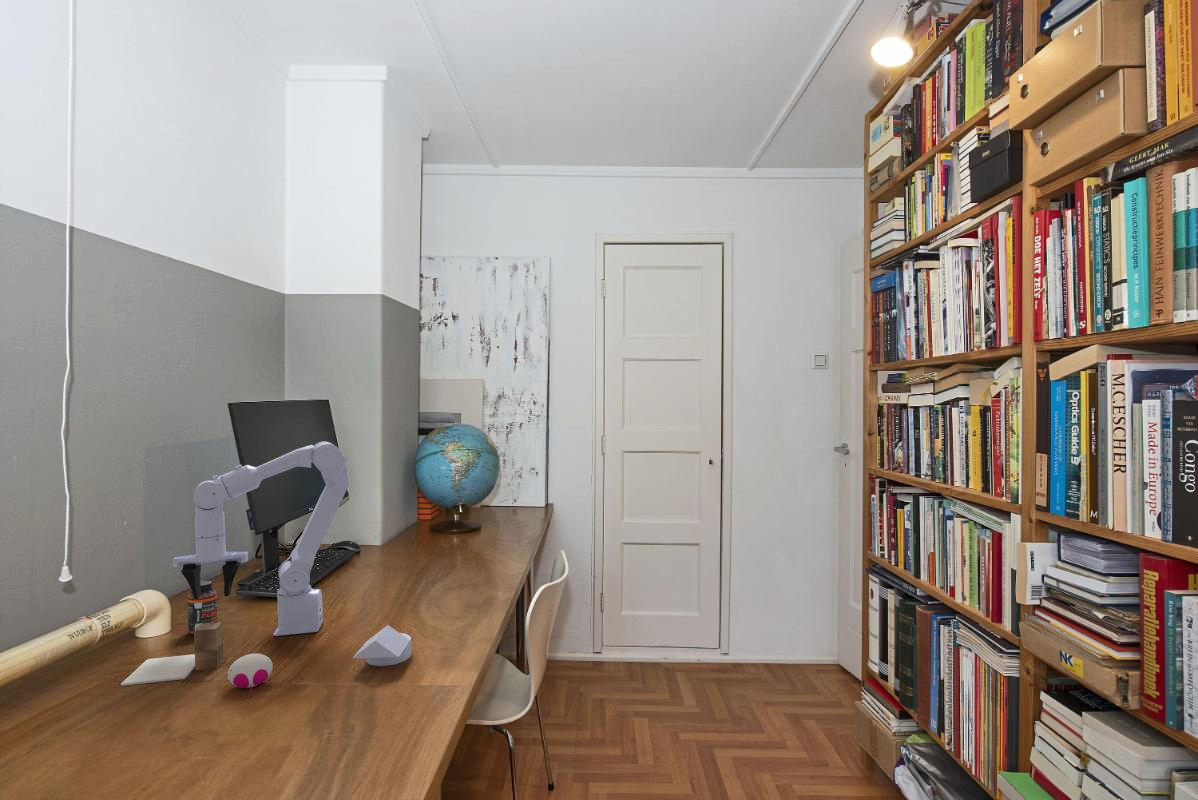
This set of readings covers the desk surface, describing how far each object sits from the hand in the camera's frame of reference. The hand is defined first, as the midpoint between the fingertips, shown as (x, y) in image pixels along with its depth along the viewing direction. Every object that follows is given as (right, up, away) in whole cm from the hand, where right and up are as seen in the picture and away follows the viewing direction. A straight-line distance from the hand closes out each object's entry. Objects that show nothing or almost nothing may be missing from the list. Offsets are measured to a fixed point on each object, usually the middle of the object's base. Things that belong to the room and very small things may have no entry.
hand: (212, 596), depth 149 cm
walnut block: (+6, -11, -12) cm, 17 cm away
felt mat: (-2, -11, -14) cm, 17 cm away
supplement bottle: (-7, -11, +8) cm, 15 cm away
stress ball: (+20, -11, -22) cm, 32 cm away
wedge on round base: (+42, -10, -12) cm, 45 cm away
